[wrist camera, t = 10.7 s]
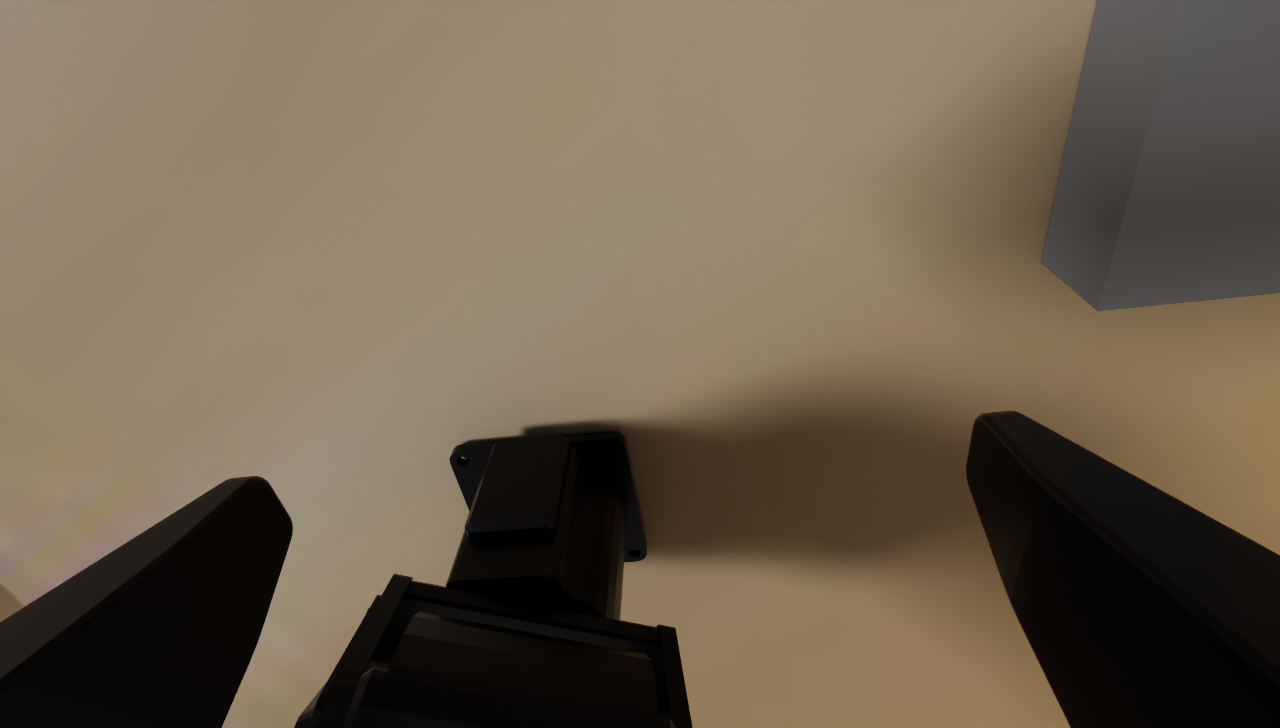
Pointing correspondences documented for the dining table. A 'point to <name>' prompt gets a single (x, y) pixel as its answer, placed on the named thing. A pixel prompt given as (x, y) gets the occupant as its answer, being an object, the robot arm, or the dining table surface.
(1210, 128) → the dock
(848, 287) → the dining table surface
